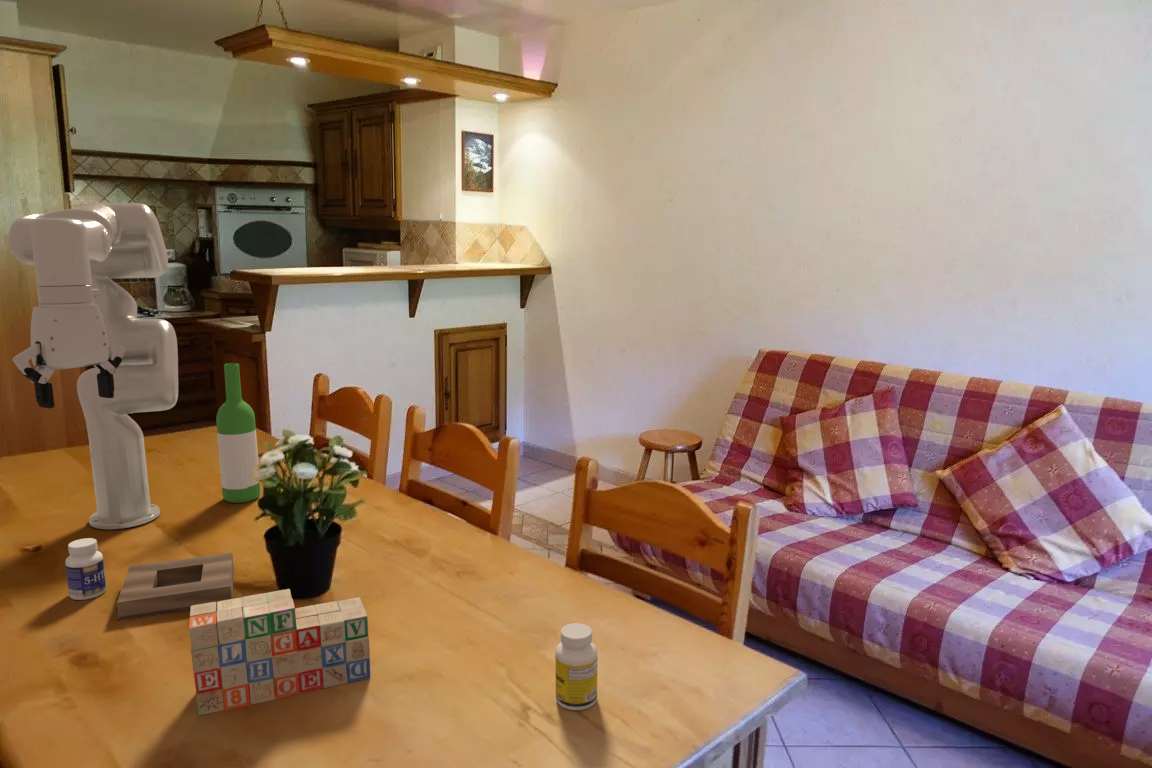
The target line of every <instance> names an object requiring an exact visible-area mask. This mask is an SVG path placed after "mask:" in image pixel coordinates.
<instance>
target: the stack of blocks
mask: <svg viewBox="0 0 1152 768" xmlns="http://www.w3.org/2000/svg"><path fill="white" fill-rule="evenodd" d="M291 592H292V591H291V589H290V588H287V589H279V590H276V591H275V590H274V591H269V592H264V593H258V594H251V595H246V596H242V597H236V598H232V599H230V600H224V601H218V602H210V603H204V604H198V605H193V606H191V609H190V610H189V611H190V612H189V625H188V627H189V628H188V629H189V639H190V653H191V660H192V661H191V662H192V671H193V676H194V677H193V678H194V685H195V693H196V706H197V713H198V716H201V715H206V714H210V713H215V712H216V713H217V712H220V711H227V710H232V709H237V708H241V707H246V706H249V705H250V706H251V705H255V704H260V703H265V702H269V701H274V700H276V699H282V698H284V697H285V698H286V697H289V696H294V695H298V694H302V693H307V692H313V691H317V690H321V689H327V688H331V687H335V686H336V687H337V686H341V685H345V684H349V683H350V684H351V683H354V682H359V681H363V680H368V679H370V678H371V658H370V657H371V656H370V655H371V654H370V649H371V648H370V636H369V624H368V623H369V622H368V620H369V619H368V614H367V612H366V609H365V607H364V605H363V602H362V600H361V597H359V596H358V597H353V598H348V599H342V600H341V599H340V600H338V601H337V600H335V601H333V600H332V601H329V602H324V603H317V604H313V605H312V604H311V605H308V606H307V605H306V606H303V607H302V606H301V607H296V608H295V602H294V599H293V598H292V597H293V596H292V593H291Z"/></svg>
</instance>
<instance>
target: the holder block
mask: <svg viewBox="0 0 1152 768" xmlns="http://www.w3.org/2000/svg"><path fill="white" fill-rule="evenodd" d="M234 567H235V565H234V554H233V552H225V553H219V554H218V553H217V554H208V555H202V556H194V557H188V558H187V557H186V558H181V559H180V558H179V559H172V560H165V561H164V560H163V561H157V562H149V563H142V564H140V563H139V564H135V565H134V564H133V565H129V566H128V569H127V571H126V575H125V578H124V580H123V581H124V582H123V583H122V587H121V589H120V592H119V596H118V597H117V601H116V606H117V607H116V608H117V616H118V621H125V620H132V619H139V618H145V617H151V615H152V616H158V615H157V614H159V615H165V614H171V613H170V612H172V613H177V611H179V612H184V611H183V610H185V611H190V610H189V609H191V606H193V605H198V604H204V603H210V602H218V601H224V600H230V599H233V596H234V595H233V594H234V593H233V591H234V571H235V569H234ZM164 613H165V614H164Z"/></svg>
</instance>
